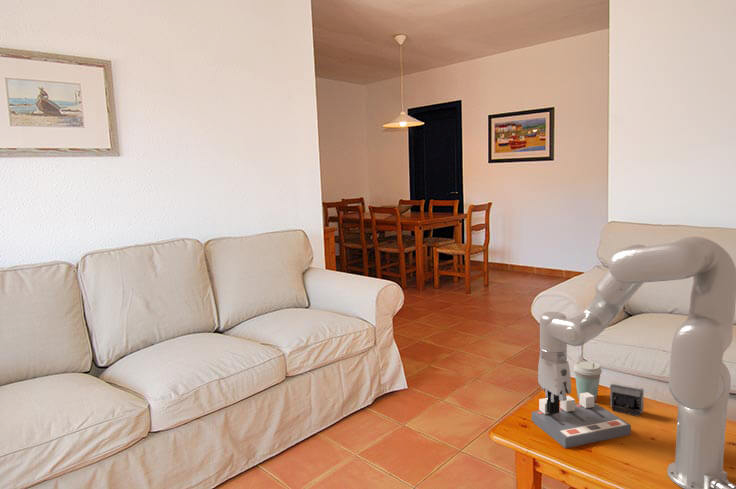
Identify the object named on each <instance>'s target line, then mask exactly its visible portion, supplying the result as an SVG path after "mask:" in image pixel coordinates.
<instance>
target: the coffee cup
mask: <svg viewBox="0 0 736 489" xmlns="http://www.w3.org/2000/svg"><path fill="white" fill-rule="evenodd" d="M573 370H574V375H575V385H576V394H577V399H578V400H579V395H580V393H586V392H588V393H590V394H592V395H593V396H594V403H596V402H597V397H598V394H599V393H598V391H599V385H600V379H601V374H602V372H603V371H602V368H601V365H600V364H599V363H597V362H595V361H591V360H579V361H576V362H575V364H574V366H573Z"/></svg>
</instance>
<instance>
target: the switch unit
mask: <svg viewBox="0 0 736 489" xmlns="http://www.w3.org/2000/svg"><path fill="white" fill-rule="evenodd" d="M532 421H533V422H534V423H533V422H532ZM531 422H532V423H533V424H534V425H536V426H537V427H538V428H539V429H541V430H542V431H543V432H545V433H546V434H547V435H548V436H549V437H551V438H552V439H554V441H555V442H557V443H558V444H559V445H560V446H562V447H563V448H564V449H568V448H573V447H578V446H583V445H586V444H592V443H597V442H601V441H606V440H612V439H615V438H620V437H621V438H622V437H625V436H630V435H631V434H632V433H631V429H632V424H630V423H629V422H626V420H624V419H622V418H620V417H619V416H617V415H616V414H614V413H612V412H611V411H609V410H607V409H606V408H604V407H602V406H601V405H599V404H598V403H596V402H594V407H590V408H585V407H583V406H582V405H580V404H579V402H578V403H575V410H574V411H569V412H566V411H564V410H563V409H562V408H560V406H559V413H556V414H544V413H542V412H541V411H540V410H539V409H538V410H535V411H531Z"/></svg>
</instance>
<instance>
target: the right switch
mask: <svg viewBox="0 0 736 489" xmlns="http://www.w3.org/2000/svg"><path fill="white" fill-rule="evenodd" d="M578 401H579V402H578V403H579V404H580V405H582V406H583V407H585V408H590V407H594V403H595V402H594V396H593V395H592V394H590V393H588V392H586V393H580V395H579V399H578Z"/></svg>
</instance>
